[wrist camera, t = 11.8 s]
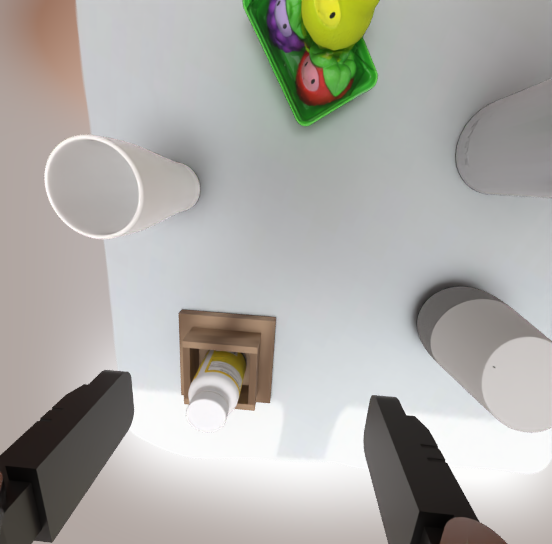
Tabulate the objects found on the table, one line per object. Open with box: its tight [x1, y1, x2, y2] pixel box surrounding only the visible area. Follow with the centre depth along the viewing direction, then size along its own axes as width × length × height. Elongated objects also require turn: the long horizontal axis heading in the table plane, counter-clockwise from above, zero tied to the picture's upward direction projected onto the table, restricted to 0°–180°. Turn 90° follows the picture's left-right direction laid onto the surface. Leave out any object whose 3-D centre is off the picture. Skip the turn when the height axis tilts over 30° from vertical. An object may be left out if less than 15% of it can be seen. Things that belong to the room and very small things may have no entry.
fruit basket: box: [243, 0, 380, 126], centre depth 24 cm, size 11×9×11 cm
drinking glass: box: [44, 134, 200, 239], centre depth 26 cm, size 7×7×15 cm
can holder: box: [179, 310, 276, 411], centre depth 37 cm, size 12×12×5 cm
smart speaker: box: [417, 287, 552, 433], centre depth 29 cm, size 10×9×14 cm
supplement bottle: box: [186, 350, 247, 433], centre depth 34 cm, size 5×5×10 cm
